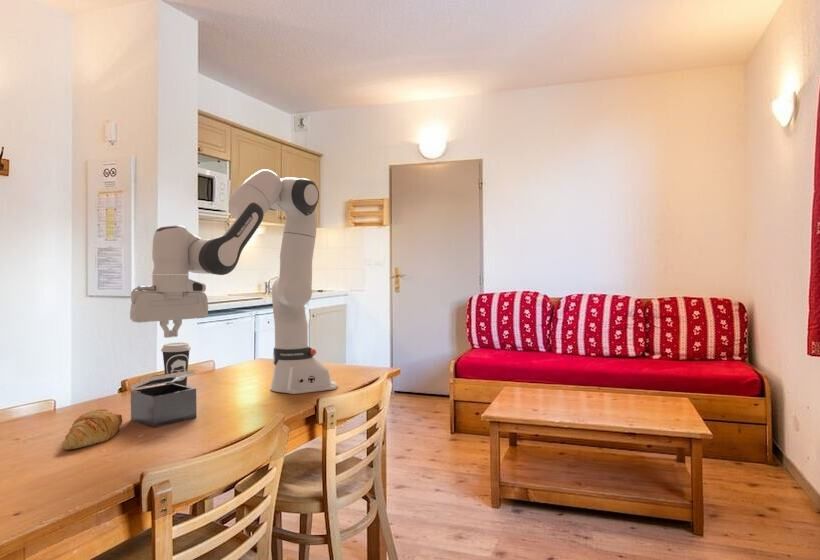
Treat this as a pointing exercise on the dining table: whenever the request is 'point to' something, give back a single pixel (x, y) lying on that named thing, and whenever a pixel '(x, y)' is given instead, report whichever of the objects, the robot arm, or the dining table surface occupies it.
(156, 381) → the lid
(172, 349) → the coffee cup
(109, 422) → the croissant
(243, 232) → the robot arm
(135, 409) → the grey box
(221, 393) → the dining table surface
